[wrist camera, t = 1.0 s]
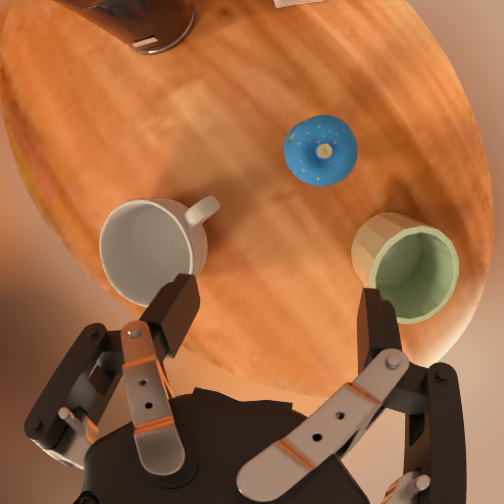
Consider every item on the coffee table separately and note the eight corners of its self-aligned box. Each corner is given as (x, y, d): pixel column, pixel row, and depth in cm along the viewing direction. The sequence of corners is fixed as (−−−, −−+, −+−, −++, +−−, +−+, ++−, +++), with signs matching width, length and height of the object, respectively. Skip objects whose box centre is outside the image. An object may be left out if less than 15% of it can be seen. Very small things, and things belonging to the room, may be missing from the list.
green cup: (344, 219, 32) (363, 237, 24) (418, 205, 31) (456, 218, 22) (355, 295, 34) (373, 333, 26) (424, 280, 33) (457, 310, 24)
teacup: (156, 292, 37) (127, 320, 30) (118, 216, 35) (80, 228, 28) (255, 251, 35) (245, 275, 27) (214, 163, 32) (192, 162, 25)
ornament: (323, 128, 30) (349, 95, 16) (340, 172, 31) (379, 174, 17) (278, 143, 31) (269, 120, 17) (295, 187, 32) (300, 201, 18)
